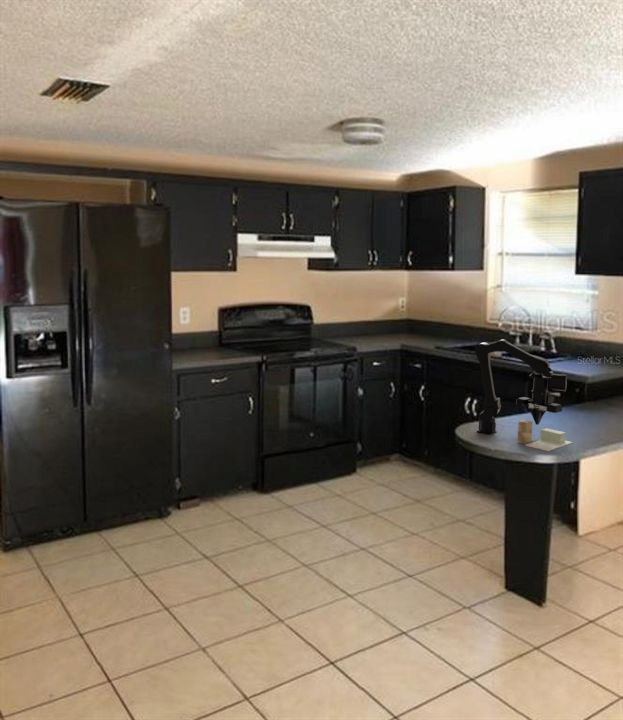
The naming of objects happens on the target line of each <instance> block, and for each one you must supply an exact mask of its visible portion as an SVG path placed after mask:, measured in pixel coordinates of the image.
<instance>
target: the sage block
mask: <svg viewBox="0 0 623 720" xmlns="http://www.w3.org/2000/svg"><path fill="white" fill-rule="evenodd" d="M566 433H567V432H564V431H560V430H556V429H552V428H547V427H546V428H545V427H544V428H542V429H540V437H539V440H542V439H543V440H547V441H551V442H555V443H563V442H565V441H566V435H567V434H566Z"/></svg>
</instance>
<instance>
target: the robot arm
mask: <svg viewBox="0 0 623 720" xmlns="http://www.w3.org/2000/svg"><path fill="white" fill-rule="evenodd" d="M497 351H504V352H505V353H506V354H509V355H511V356H513V357H514V358H516V359H518V360H520V361H522V362H523V363H525V364H527V365H528V366H529V367H530V368H531V369H532V370H533V372H532V373H531V374H529V376H528V378H530V379H531V378H533V383H532V385H533V386H532V390H530V391H531V392H530V394H532V397H531V398H530V397H526V396H523V397H518V398H517V399H516V400H515V405H516V406H521V407H522V406H524V405H528V407H527V410H529V412H530V415H531V416H532V418H533V421H534V423H535V426H536V425H537V426H538V425H539V424H540V423H541V420H542V418H543V417H544V415H545V414H546V412H547V413H552V414H557V413H560V412H563V406H562V404H560V403H554V401H555V396H553V395H552V394H550V391H549V390H548V388H550V389H551V391H561V392H567V391H566V390H567V385H568V381H567V380H568V379H567V374H564V373H563V374H557V373H554V371H553V370H552V368H551V367H550V361H549V360H548V359H546V358H545V357H541V356H538V355H533V354H530V352H527V351H526V350H523V349H522V348H520V347H518V346H516V345H515V344H512V343H511V342H509V341H507V339H500V340H496V341H492V342H480V343H479V344H477V345H476V347H475V348H474V353H475V355H476V359H477V361H478V363H479V365H480V370H481V376H482V378H481V379H482V384H483V390H484V406H483V407H484V408H483V410H482V412H480V413H479V415H478V429H476V431H479V432H478V433H480V432H481V433H480V434H485V435H491V434H492V435H493V434H495V433H497V430H496V429H497V422H496V419H495V418H494V417H495V416H497V415H498V413H499V412H500V410H501V407H502V405H501V397H497V395H496V393H495V386H494V378H493V373H492V368H491V357H492V353H494V352H497Z"/></svg>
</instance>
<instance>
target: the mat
mask: <svg viewBox="0 0 623 720" xmlns="http://www.w3.org/2000/svg"><path fill="white" fill-rule="evenodd" d="M573 443H574V442H573V441H569V440H565V442H563V443H555V442H551V441H547V440H543V439H539V440H536V441H533V442H532V441H531V443H529V444H524V446H525V447H530V448H534V449H537V450H542V451H546V452H550V451H552V450H553V451H554V450H556V449H559V448H562V447H565V446H569V445H571V444H573Z"/></svg>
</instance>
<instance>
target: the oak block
mask: <svg viewBox="0 0 623 720" xmlns="http://www.w3.org/2000/svg"><path fill="white" fill-rule="evenodd" d="M532 434H533V421H531V420H528V419H522V420H518V426H517V443H519V444H523V445H526V444H529V443H532V438H533V435H532Z"/></svg>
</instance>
